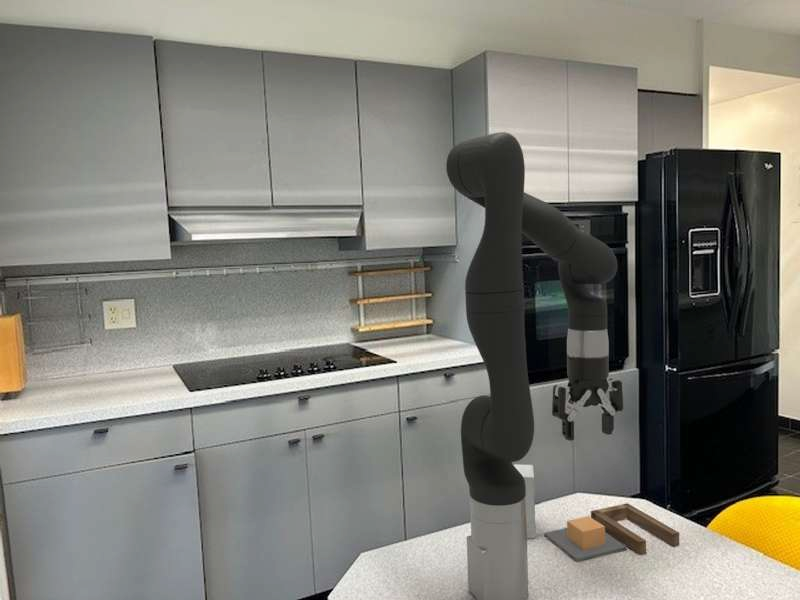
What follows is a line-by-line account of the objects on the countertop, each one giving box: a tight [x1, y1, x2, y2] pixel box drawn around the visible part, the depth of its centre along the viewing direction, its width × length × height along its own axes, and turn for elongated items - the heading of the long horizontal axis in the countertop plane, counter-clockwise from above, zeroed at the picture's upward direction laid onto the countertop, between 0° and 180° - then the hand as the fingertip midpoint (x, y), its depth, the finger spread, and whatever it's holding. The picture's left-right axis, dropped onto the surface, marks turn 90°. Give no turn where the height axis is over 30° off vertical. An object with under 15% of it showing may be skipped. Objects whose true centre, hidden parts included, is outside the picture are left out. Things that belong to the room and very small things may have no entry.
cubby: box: [590, 502, 680, 556], centre depth 121 cm, size 9×14×2 cm, turn 19°
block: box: [566, 515, 606, 550], centre depth 118 cm, size 5×5×4 cm
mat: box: [543, 527, 628, 562], centre depth 118 cm, size 11×11×1 cm
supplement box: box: [512, 463, 536, 539], centre depth 124 cm, size 7×7×13 cm
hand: (588, 436), depth 116 cm, fingers open, 8 cm apart
